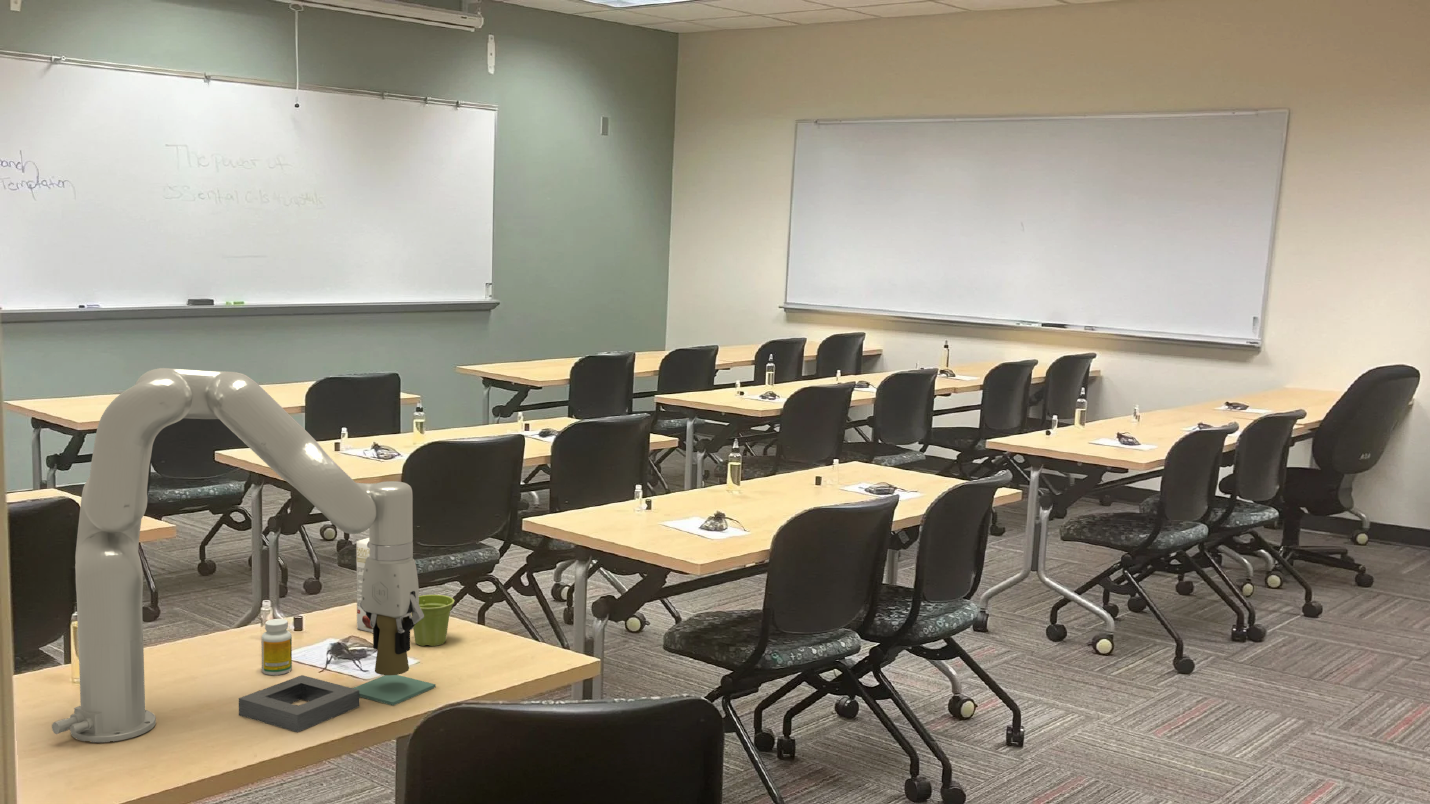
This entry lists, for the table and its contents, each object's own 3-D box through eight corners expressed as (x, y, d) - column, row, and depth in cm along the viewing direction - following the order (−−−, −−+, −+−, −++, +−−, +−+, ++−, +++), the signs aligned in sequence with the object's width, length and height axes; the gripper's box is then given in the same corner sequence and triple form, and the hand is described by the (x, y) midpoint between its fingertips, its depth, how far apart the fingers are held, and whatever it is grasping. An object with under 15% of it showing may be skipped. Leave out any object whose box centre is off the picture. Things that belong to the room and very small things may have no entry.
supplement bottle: (257, 669, 235) (256, 620, 233) (285, 664, 238) (285, 615, 237) (267, 677, 230) (267, 627, 229) (296, 672, 234) (295, 622, 233)
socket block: (297, 732, 205) (297, 714, 205) (238, 715, 212) (238, 698, 212) (359, 706, 217) (359, 690, 217) (302, 691, 224) (301, 674, 224)
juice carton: (380, 636, 256) (380, 546, 254) (351, 629, 261) (350, 540, 258) (407, 627, 263) (407, 539, 261) (377, 620, 267) (377, 534, 265)
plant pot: (463, 642, 254) (463, 601, 253) (425, 652, 247) (425, 610, 246) (435, 632, 260) (435, 591, 259) (397, 642, 253) (397, 600, 252)
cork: (415, 669, 225) (415, 611, 224) (386, 677, 221) (386, 617, 220) (397, 661, 230) (396, 604, 228) (368, 669, 225) (367, 610, 224)
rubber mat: (393, 705, 218) (393, 702, 218) (347, 693, 224) (347, 690, 224) (435, 687, 228) (435, 684, 228) (390, 676, 233) (390, 672, 233)
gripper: (340, 548, 223) (342, 647, 226) (412, 562, 215) (412, 663, 218) (371, 540, 230) (371, 636, 232) (441, 553, 222) (441, 652, 224)
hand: (391, 648), depth 225 cm, fingers closed on cork, 4 cm apart
